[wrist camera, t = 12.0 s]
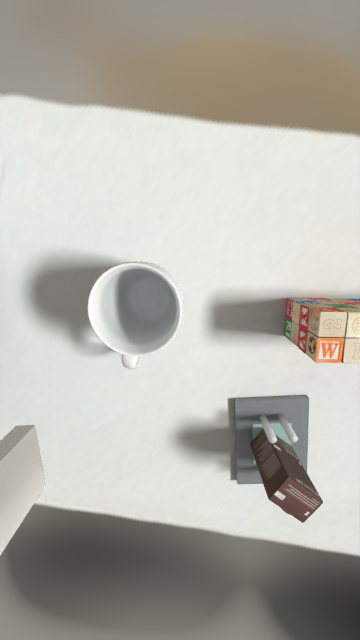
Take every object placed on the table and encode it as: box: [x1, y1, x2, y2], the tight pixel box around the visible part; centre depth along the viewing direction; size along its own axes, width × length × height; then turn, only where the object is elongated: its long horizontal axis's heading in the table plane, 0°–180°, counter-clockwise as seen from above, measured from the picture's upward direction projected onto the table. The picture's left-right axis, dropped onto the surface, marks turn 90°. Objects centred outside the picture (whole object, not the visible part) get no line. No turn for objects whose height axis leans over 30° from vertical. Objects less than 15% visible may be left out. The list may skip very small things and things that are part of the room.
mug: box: [87, 262, 184, 369], centre depth 39 cm, size 15×11×13 cm
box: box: [250, 429, 323, 523], centre depth 42 cm, size 6×4×12 cm
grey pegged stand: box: [234, 395, 309, 484], centre depth 46 cm, size 12×16×7 cm
